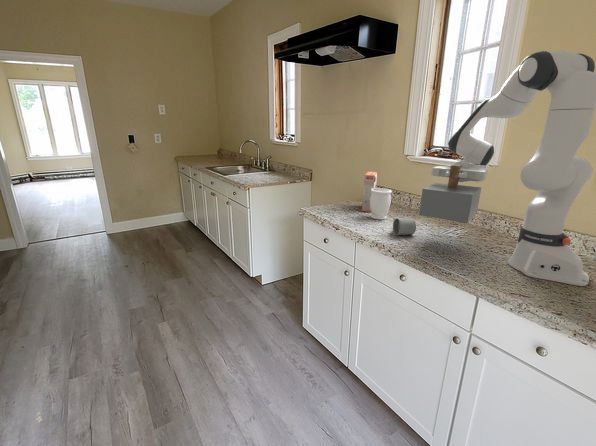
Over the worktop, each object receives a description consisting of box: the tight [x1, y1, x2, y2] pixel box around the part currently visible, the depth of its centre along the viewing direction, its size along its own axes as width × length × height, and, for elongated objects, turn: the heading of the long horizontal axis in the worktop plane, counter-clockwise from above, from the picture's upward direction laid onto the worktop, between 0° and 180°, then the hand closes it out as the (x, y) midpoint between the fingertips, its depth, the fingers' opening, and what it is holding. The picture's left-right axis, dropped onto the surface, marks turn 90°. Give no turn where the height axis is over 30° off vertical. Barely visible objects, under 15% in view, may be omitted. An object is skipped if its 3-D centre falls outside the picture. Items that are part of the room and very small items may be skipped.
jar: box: [370, 187, 393, 220], centre depth 167 cm, size 11×10×15 cm
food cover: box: [418, 164, 482, 224], centre depth 127 cm, size 18×18×20 cm
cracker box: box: [361, 171, 378, 213], centre depth 182 cm, size 14×6×21 cm, turn 161°
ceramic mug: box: [392, 217, 417, 236], centre depth 145 cm, size 11×8×8 cm
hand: (453, 175), depth 125 cm, fingers closed on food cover, 3 cm apart
